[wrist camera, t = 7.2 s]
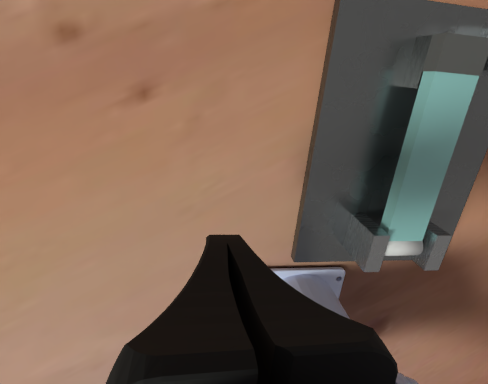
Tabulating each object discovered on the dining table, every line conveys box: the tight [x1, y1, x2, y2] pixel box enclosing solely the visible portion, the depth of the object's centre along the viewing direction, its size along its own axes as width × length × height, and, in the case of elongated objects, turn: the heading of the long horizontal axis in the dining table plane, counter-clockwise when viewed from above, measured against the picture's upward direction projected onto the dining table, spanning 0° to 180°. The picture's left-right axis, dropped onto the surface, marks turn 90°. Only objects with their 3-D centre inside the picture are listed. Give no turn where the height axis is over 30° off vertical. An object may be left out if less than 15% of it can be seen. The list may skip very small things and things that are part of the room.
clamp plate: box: [291, 0, 488, 272], centre depth 20 cm, size 19×14×6 cm
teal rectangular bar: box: [380, 33, 488, 256], centre depth 20 cm, size 15×3×2 cm, turn 175°
